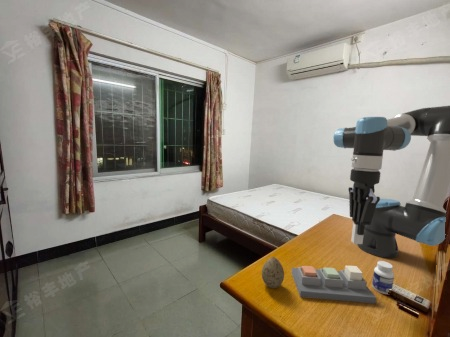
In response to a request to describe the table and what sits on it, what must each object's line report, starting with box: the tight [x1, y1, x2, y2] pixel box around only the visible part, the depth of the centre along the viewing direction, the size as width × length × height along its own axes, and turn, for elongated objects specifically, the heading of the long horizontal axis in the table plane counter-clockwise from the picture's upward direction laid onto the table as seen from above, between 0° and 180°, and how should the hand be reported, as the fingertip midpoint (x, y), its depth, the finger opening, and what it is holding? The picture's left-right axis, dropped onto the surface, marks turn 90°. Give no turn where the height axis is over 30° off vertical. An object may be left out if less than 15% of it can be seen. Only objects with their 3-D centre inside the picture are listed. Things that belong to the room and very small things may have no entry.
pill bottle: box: [371, 260, 395, 295], centre depth 69 cm, size 5×5×9 cm
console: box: [290, 266, 377, 304], centre depth 70 cm, size 22×12×4 cm, turn 85°
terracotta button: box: [301, 265, 316, 277], centre depth 70 cm, size 4×4×3 cm
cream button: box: [344, 265, 363, 281], centre depth 68 cm, size 4×4×3 cm
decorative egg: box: [261, 256, 285, 289], centre depth 69 cm, size 7×7×10 cm
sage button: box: [322, 267, 339, 279], centre depth 69 cm, size 4×4×3 cm
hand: (356, 242), depth 67 cm, fingers closed
